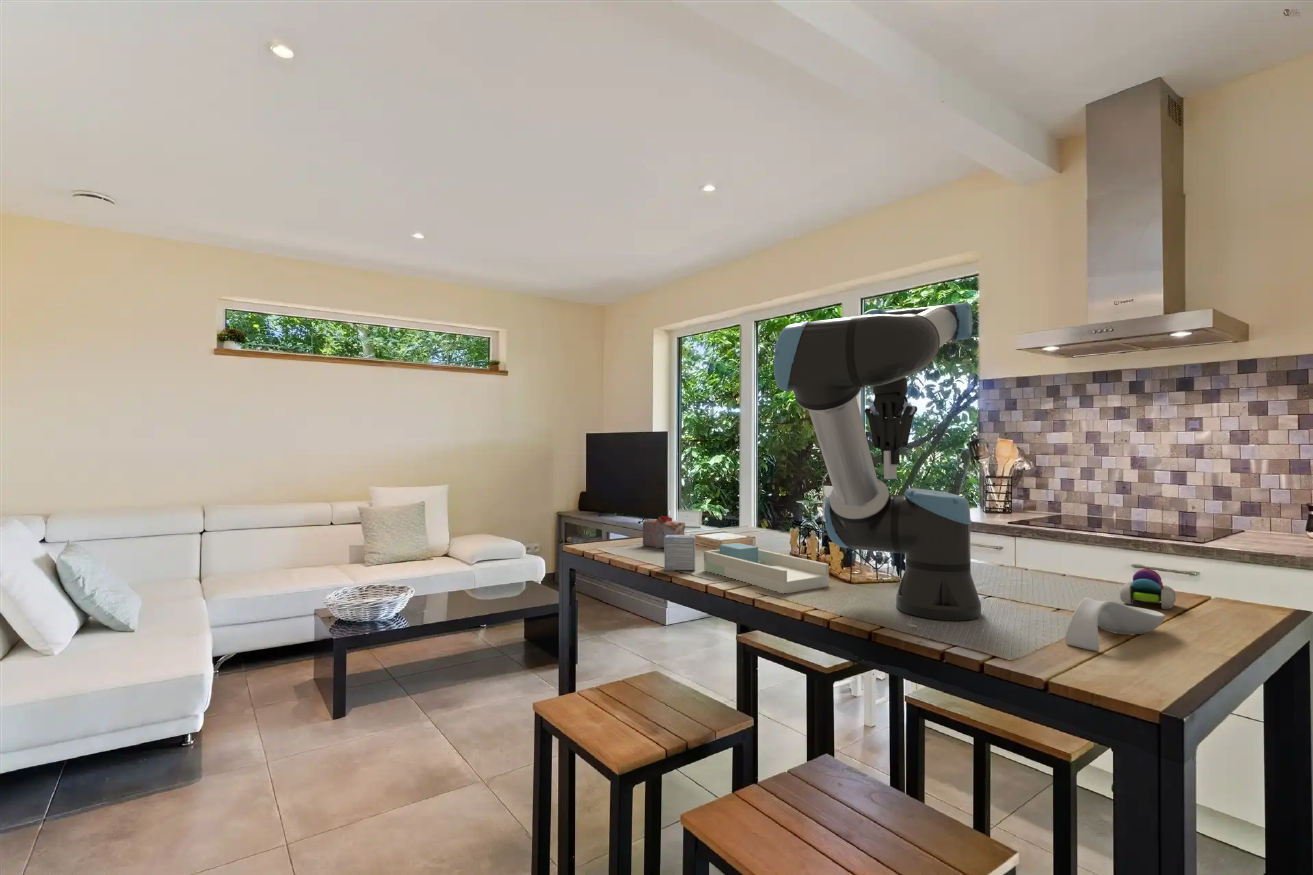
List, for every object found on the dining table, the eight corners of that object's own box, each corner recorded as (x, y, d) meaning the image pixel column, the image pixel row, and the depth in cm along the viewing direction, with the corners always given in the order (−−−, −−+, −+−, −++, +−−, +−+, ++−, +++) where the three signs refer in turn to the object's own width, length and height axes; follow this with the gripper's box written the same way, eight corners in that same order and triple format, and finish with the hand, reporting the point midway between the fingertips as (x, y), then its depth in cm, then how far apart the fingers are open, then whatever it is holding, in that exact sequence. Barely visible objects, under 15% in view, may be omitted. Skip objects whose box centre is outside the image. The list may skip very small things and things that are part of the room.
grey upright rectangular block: (695, 568, 165) (695, 534, 165) (694, 571, 160) (694, 537, 161) (665, 567, 166) (665, 534, 166) (664, 570, 161) (664, 537, 161)
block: (758, 563, 158) (758, 547, 158) (739, 565, 155) (739, 549, 155) (737, 558, 165) (737, 542, 165) (719, 560, 162) (719, 544, 162)
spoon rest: (1096, 617, 119) (1096, 579, 119) (1174, 632, 110) (1174, 591, 110) (1042, 641, 105) (1042, 598, 105) (1127, 661, 95) (1127, 613, 95)
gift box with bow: (688, 547, 197) (688, 516, 197) (674, 551, 191) (674, 518, 191) (653, 543, 205) (653, 513, 205) (638, 546, 199) (638, 515, 199)
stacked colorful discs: (1176, 604, 128) (1176, 568, 128) (1172, 613, 121) (1172, 576, 121) (1125, 597, 134) (1124, 563, 134) (1118, 606, 127) (1118, 569, 127)
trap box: (828, 586, 144) (828, 564, 144) (783, 594, 136) (783, 570, 136) (746, 565, 168) (746, 546, 168) (704, 570, 161) (703, 551, 161)
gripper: (924, 375, 143) (925, 479, 143) (877, 380, 154) (877, 476, 154) (903, 373, 139) (904, 480, 139) (856, 378, 150) (857, 477, 150)
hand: (890, 478), depth 146 cm, fingers closed
